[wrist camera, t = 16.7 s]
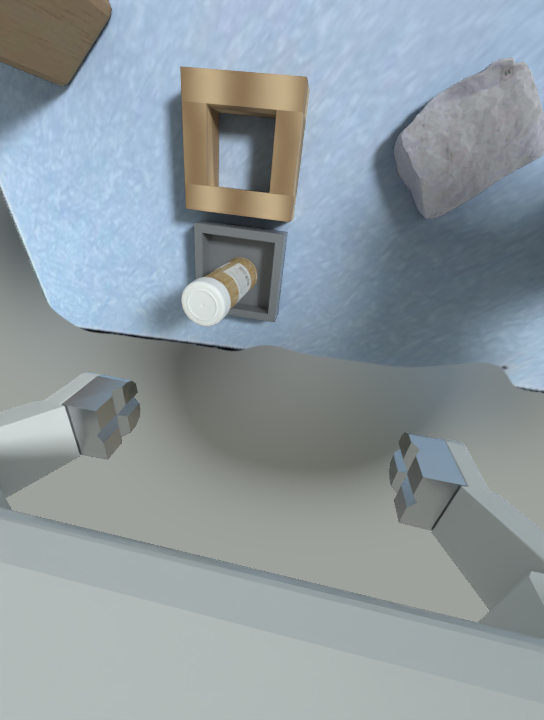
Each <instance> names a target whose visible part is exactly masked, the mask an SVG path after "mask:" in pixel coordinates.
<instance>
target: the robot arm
mask: <svg viewBox="0 0 544 720" xmlns="http://www.w3.org/2000/svg"><path fill="white" fill-rule="evenodd" d="M136 394H137V387H136V383H134V382H133V381H130V380H125V379H121V378H116V377H112V376H107V375H101V374H96V373H92V372H85V373H82V374H80V375H79V376H78V377H76V378H75V379H73V380H72V381H71V382H69V383H68V384H67V385H65V386H64V387H62V388H61V389H59V390H58V391H57V392H55V393H54V394H52V395H51V396H50V397H48V398H47V399H45V400H44V401H34V402H31V403H28V404H24V405H21V406H18V407H15V408H11V409H8V410H5V411H1V412H0V720H544V531H543V530H541V529H540V528H539V527H538V526H536V525H535V524H534V523H533V522H531V521H530V520H529V519H528V518H527V517H525V516H524V515H523V514H522V513H521V512H519V511H518V510H517V509H516V508H514V507H513V506H512V505H511V504H509V503H508V502H507V501H506V500H505V499H504V498H502V497H501V496H500V495H499V494H497V493H495V492H490V490H489V488H488V486H487V485H486V483H485V481H484V479H483V477H482V475H481V473H480V472H479V470H478V468H477V466H476V465H475V463H474V461H473V459H472V457H471V455H470V453H469V452H468V450H467V448H466V446H465V445H464V444H463V443H462V442H459V441H452V440H447V439H438V438H432V437H427V436H421V435H416V434H411V433H404V434H403V435H402V436H401V438H400V440H399V446H400V450H399V451H397V452H395V453H394V454H393V457H392V459H391V462H390V468H389V478H390V484H391V487H392V488H393V489H394V490H395V491H396V493H397V495H396V497H395V499H394V503H395V507H396V512H397V517H398V521H399V523H403V524H407V525H410V526H414V527H419V528H422V529H427V530H431V531H432V533H433V535H434V536H435V538H436V539H437V540H438V542H439V543H440V544H441V546H442V547H443V548H444V550H445V551H446V552H447V554H448V555H449V557H450V558H451V559H452V561H453V562H454V563H455V565H456V566H457V567H458V569H459V570H460V571H461V573H462V574H463V575H464V577H465V578H466V579H467V581H468V582H469V583H470V585H471V586H472V587H473V589H474V590H475V591H476V593H477V594H478V595H479V597H480V598H481V599H482V601H483V602H484V604H485V605H486V606H487V608H488V609H489V610H490V611H489V612H488V613H487V614H486V615H485V616H484V617H483V618H482V619H481V620H480V621H479V622H478V623H477V622H473V621H469V620H464V619H461V618H457V617H452V616H448V615H444V614H440V613H436V612H432V611H427V610H423V609H419V608H415V607H411V606H407V605H403V604H399V603H394V602H390V601H386V600H382V599H378V598H373V597H370V596H365V595H361V594H357V593H353V592H349V591H345V590H340V589H336V588H332V587H328V586H324V585H320V584H316V583H311V582H307V581H303V580H299V579H295V578H291V577H287V576H283V575H279V574H274V573H270V572H266V571H262V570H257V569H253V568H250V567H245V566H241V565H237V564H233V563H229V562H225V561H221V560H216V559H212V558H208V557H204V556H200V555H195V554H191V553H187V552H183V551H179V550H174V549H171V548H166V547H162V546H158V545H154V544H150V543H146V542H141V541H137V540H133V539H129V538H125V537H121V536H117V535H112V534H108V533H104V532H100V531H96V530H92V529H87V528H83V527H79V526H75V525H71V524H67V523H63V522H59V521H54V520H50V519H46V518H42V517H38V516H34V515H30V514H26V513H21V512H17V511H13V510H12V509H11V507H10V505H9V504H8V502H7V500H6V498H7V497H9V496H11V495H12V494H14V493H16V492H18V491H19V490H21V489H23V488H25V487H26V486H28V485H30V484H32V483H34V482H35V481H37V480H39V479H41V478H42V477H44V476H46V475H48V474H49V473H51V472H53V471H55V470H57V469H58V468H60V467H62V466H64V465H65V464H67V463H69V462H71V461H72V460H74V459H76V458H78V457H80V455H85V456H91V457H96V458H102V459H109V458H110V456H111V455H112V454H113V453H114V452H115V450H116V449H117V448H118V447H119V446H120V444H121V443H122V439H121V437H122V436H124V435H126V434H129V433H130V432H131V431H132V430H133V429H134V428H135V426H136V424H137V422H138V419H139V417H140V405H139V403H138V401H137V400H136V399H135V398H134V396H135V395H136Z"/></svg>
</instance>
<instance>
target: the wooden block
mask: <svg viewBox="0 0 544 720" xmlns="http://www.w3.org/2000/svg"><path fill="white" fill-rule="evenodd" d="M111 11H112V8H111V6H110V3H109V1H108V0H0V62H2V63H5V64H7V65H10V66H12V67H15V68H17V69H20V70H22V71H25V72H27V73H30V74H32V75H35V76H37V77H40V78H42V79H45V80H47V81H50V82H52V83H55V84H57V85H60V86H64V85H66V84H68V83H69V82H70V81H71V79H72V77H73V76H74V74H75V73H76V71H77V69H78V68H79V66H80V65H81V63H82V61H83V60H84V58H85V57H86V55H87V53H88V52H89V50H90V49H91V47H92V45H93V44H94V42H95V41H96V39H97V37H98V36H99V34H100V33H101V31H102V29H103V28H104V26H105V25H106V23H107V21H108V20H109V18H110V16H111Z"/></svg>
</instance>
